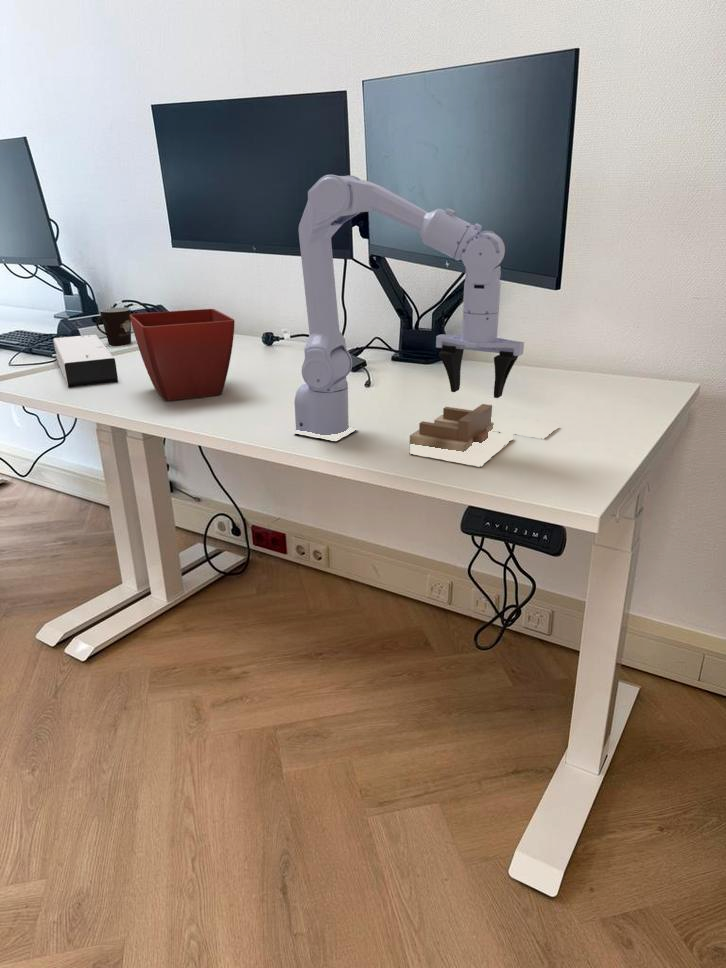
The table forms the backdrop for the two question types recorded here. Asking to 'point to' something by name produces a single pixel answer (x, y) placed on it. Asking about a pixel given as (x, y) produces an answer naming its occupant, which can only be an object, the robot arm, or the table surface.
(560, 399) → the table surface
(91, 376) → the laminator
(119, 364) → the table surface
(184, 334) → the plant pot
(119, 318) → the coffee mug
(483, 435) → the wooden u-shaped block
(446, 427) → the wooden c-shaped piece
